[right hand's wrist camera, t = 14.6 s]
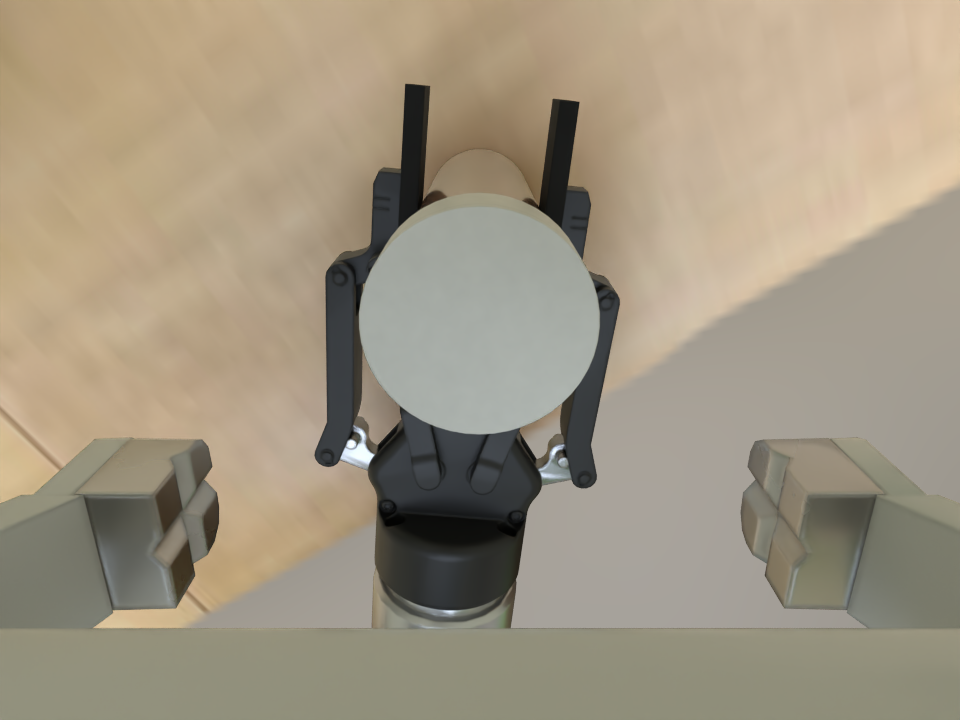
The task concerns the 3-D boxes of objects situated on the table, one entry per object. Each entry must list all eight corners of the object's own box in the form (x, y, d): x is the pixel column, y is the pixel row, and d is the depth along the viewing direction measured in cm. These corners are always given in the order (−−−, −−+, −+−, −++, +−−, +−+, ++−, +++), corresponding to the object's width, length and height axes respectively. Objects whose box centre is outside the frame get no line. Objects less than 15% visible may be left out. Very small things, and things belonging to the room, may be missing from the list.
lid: (442, 432, 20) (439, 470, 18) (329, 263, 18) (310, 285, 16) (623, 338, 19) (640, 368, 17) (521, 148, 17) (527, 156, 15)
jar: (461, 266, 37) (444, 445, 18) (411, 181, 35) (336, 286, 17) (546, 218, 36) (616, 356, 17) (498, 129, 34) (519, 178, 16)
